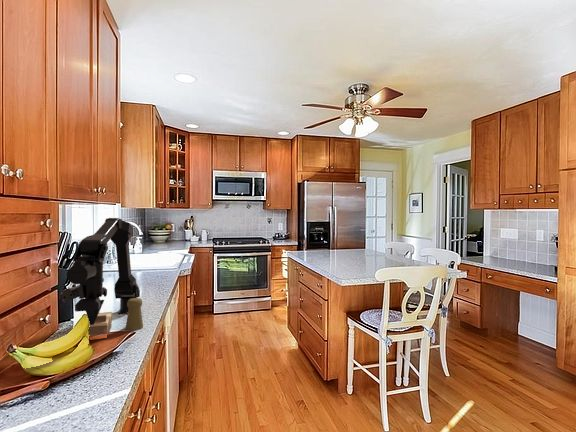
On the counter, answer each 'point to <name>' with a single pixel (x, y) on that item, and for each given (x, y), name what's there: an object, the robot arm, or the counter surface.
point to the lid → (102, 319)
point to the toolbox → (100, 329)
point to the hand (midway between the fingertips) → (92, 324)
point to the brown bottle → (134, 315)
